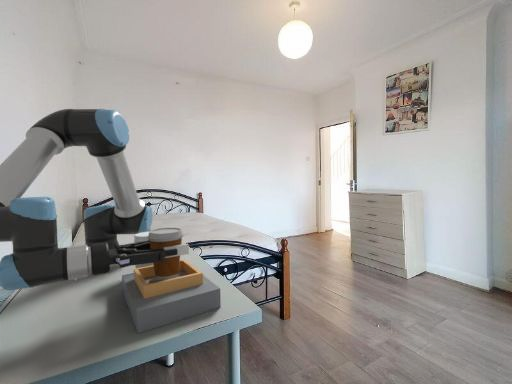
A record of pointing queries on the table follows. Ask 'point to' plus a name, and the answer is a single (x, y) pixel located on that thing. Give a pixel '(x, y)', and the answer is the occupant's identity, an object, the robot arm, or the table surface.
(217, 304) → the grey platform
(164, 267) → the disposable coffee cup
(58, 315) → the table surface
